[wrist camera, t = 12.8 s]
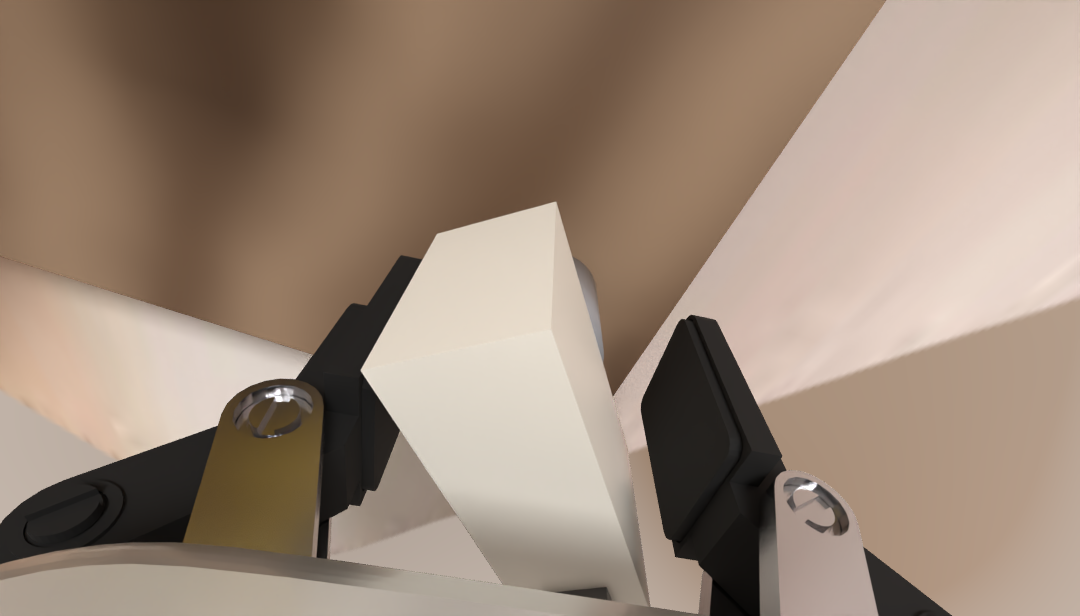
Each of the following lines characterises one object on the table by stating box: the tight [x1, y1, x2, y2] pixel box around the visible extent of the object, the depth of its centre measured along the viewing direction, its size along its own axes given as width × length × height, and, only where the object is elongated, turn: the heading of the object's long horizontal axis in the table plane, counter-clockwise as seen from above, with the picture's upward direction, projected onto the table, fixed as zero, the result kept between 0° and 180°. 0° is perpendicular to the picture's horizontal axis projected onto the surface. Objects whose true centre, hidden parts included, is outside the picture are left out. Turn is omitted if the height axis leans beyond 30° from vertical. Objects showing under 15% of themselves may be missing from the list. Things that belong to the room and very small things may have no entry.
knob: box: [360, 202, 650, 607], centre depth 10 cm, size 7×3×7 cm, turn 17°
